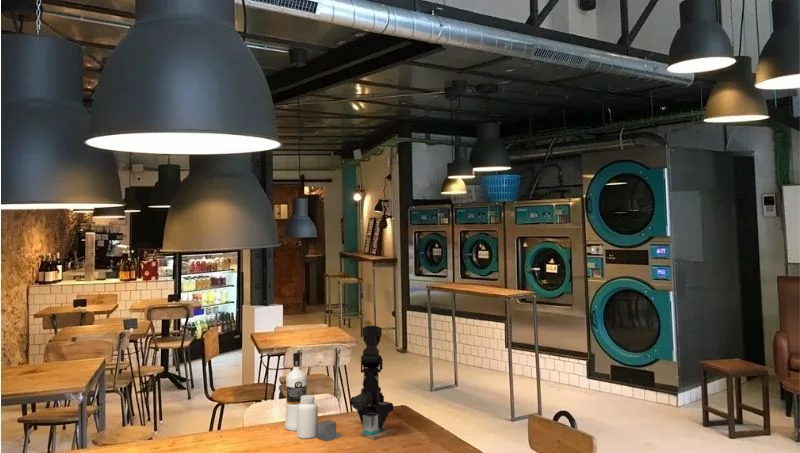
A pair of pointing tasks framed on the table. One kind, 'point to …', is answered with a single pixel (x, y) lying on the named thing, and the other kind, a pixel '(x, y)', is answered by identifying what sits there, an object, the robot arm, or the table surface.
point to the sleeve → (370, 424)
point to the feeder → (327, 430)
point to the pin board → (383, 433)
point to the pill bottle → (307, 417)
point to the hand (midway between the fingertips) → (371, 426)
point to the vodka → (294, 392)
